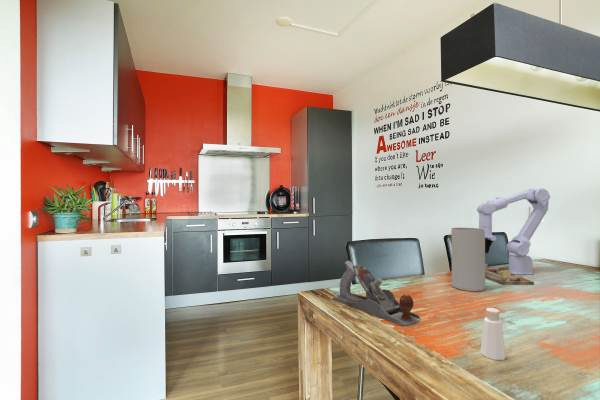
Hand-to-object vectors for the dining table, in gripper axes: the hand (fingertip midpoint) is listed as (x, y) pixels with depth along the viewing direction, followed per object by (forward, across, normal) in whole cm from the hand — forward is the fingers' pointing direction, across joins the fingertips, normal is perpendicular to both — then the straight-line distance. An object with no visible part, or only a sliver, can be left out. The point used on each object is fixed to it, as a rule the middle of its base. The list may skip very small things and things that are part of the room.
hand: (485, 253), depth 163 cm
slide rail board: (+10, +13, 0) cm, 16 cm away
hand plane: (+10, +53, -70) cm, 89 cm away
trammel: (+9, +13, -1) cm, 16 cm away
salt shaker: (+10, +86, -49) cm, 99 cm away
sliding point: (+8, +22, -1) cm, 23 cm away
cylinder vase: (+10, +28, -24) cm, 38 cm away
